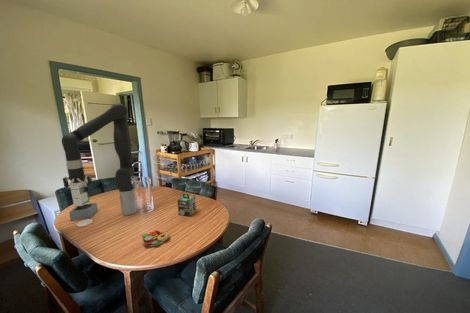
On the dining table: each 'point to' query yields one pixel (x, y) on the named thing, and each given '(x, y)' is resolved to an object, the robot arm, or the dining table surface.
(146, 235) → the toy food set
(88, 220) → the coaster
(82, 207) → the housing
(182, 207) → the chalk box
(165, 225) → the dining table surface
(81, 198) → the syrup box
